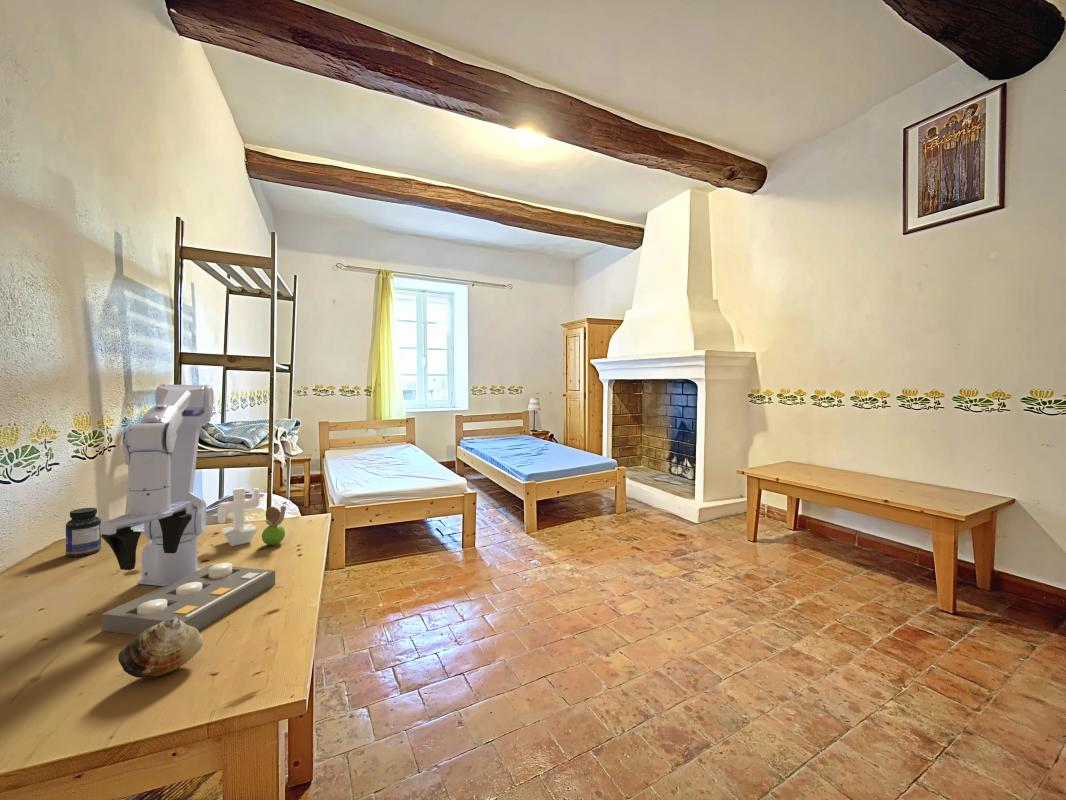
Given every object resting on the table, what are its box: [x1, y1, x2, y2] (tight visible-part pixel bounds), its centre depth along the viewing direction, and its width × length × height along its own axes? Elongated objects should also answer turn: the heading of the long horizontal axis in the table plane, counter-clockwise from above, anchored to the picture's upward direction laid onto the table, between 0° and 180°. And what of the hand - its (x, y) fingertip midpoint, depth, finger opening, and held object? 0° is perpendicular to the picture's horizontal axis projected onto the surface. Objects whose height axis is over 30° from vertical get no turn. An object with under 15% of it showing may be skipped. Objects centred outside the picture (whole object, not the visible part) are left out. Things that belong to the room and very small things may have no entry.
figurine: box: [217, 487, 260, 547], centre depth 115 cm, size 7×9×15 cm
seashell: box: [117, 617, 204, 679], centre depth 62 cm, size 10×6×8 cm, turn 130°
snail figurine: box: [261, 501, 287, 546], centre depth 114 cm, size 5×6×12 cm
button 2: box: [209, 562, 233, 580], centre depth 89 cm, size 4×4×3 cm
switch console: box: [101, 564, 276, 636], centre depth 82 cm, size 16×21×3 cm
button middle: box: [176, 582, 202, 596], centre depth 82 cm, size 4×4×3 cm
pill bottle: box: [65, 507, 102, 558], centre depth 106 cm, size 6×6×11 cm
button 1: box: [137, 599, 167, 615], centre depth 75 cm, size 4×4×3 cm
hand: (149, 560), depth 78 cm, fingers open, 7 cm apart
